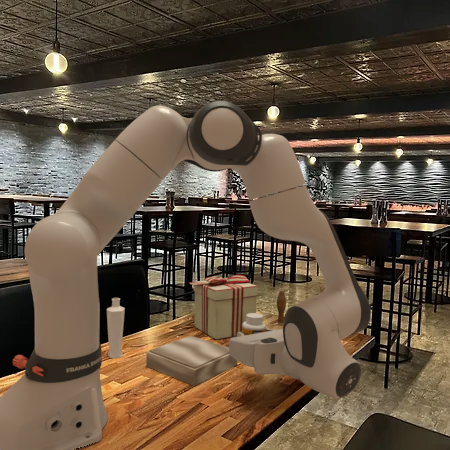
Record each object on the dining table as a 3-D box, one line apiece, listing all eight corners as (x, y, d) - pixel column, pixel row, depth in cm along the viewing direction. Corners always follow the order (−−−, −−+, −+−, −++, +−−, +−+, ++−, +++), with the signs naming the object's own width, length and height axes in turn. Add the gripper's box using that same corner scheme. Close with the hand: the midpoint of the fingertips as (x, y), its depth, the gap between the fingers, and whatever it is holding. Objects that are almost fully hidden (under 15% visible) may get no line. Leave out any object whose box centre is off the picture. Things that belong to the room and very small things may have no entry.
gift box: (224, 317, 150) (226, 268, 149) (259, 333, 135) (261, 278, 134) (181, 325, 140) (183, 272, 139) (214, 343, 125) (215, 284, 124)
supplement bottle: (249, 363, 99) (252, 319, 98) (235, 355, 103) (238, 313, 103) (269, 359, 102) (271, 316, 101) (254, 351, 106) (256, 310, 106)
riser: (194, 385, 97) (194, 368, 97) (146, 366, 107) (146, 350, 107) (237, 364, 110) (237, 349, 109) (190, 348, 120) (191, 334, 119)
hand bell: (291, 353, 119) (294, 296, 117) (262, 349, 121) (264, 292, 120) (296, 343, 126) (299, 289, 125) (269, 339, 129) (271, 286, 128)
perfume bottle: (102, 357, 112) (103, 299, 110) (112, 351, 116) (112, 296, 115) (117, 360, 110) (118, 301, 109) (127, 354, 114) (128, 298, 113)
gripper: (326, 330, 97) (285, 314, 108) (253, 344, 86) (216, 325, 97) (324, 358, 97) (283, 339, 109) (251, 376, 86) (214, 353, 97)
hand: (251, 333), depth 103 cm, fingers closed on supplement bottle, 6 cm apart
